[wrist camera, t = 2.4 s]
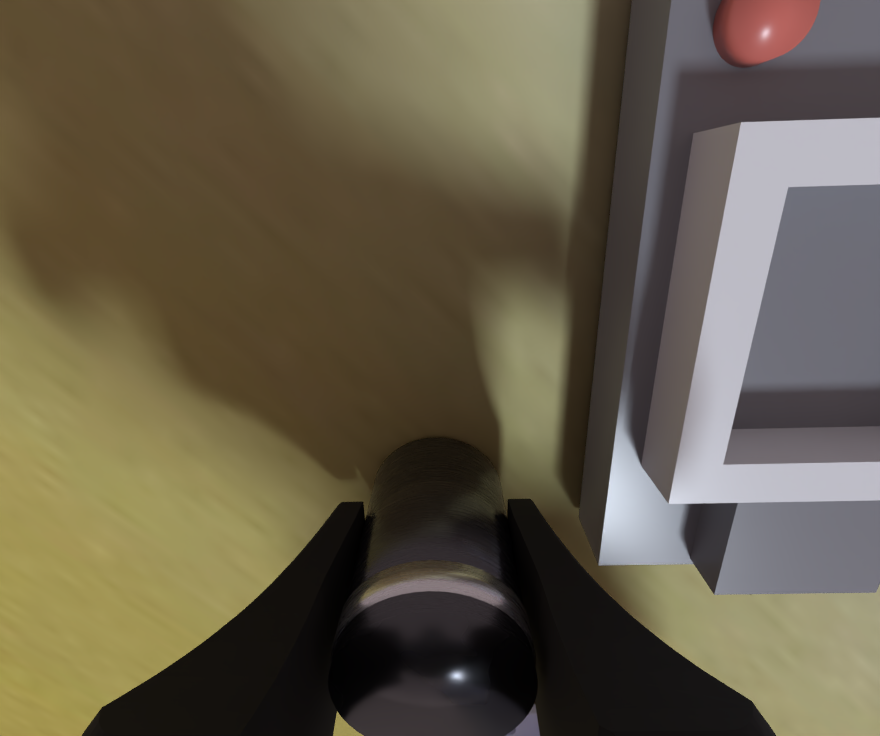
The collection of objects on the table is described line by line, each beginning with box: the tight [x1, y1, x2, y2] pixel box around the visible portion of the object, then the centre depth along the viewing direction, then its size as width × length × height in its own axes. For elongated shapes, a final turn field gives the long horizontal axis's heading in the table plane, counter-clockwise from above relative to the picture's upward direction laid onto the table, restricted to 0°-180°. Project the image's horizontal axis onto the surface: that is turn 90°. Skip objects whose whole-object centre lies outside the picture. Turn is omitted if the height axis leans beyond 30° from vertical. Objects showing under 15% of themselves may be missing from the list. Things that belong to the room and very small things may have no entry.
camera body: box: [579, 0, 880, 595], centre depth 10 cm, size 14×9×4 cm, turn 1°
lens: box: [328, 438, 538, 736], centre depth 11 cm, size 4×4×6 cm
